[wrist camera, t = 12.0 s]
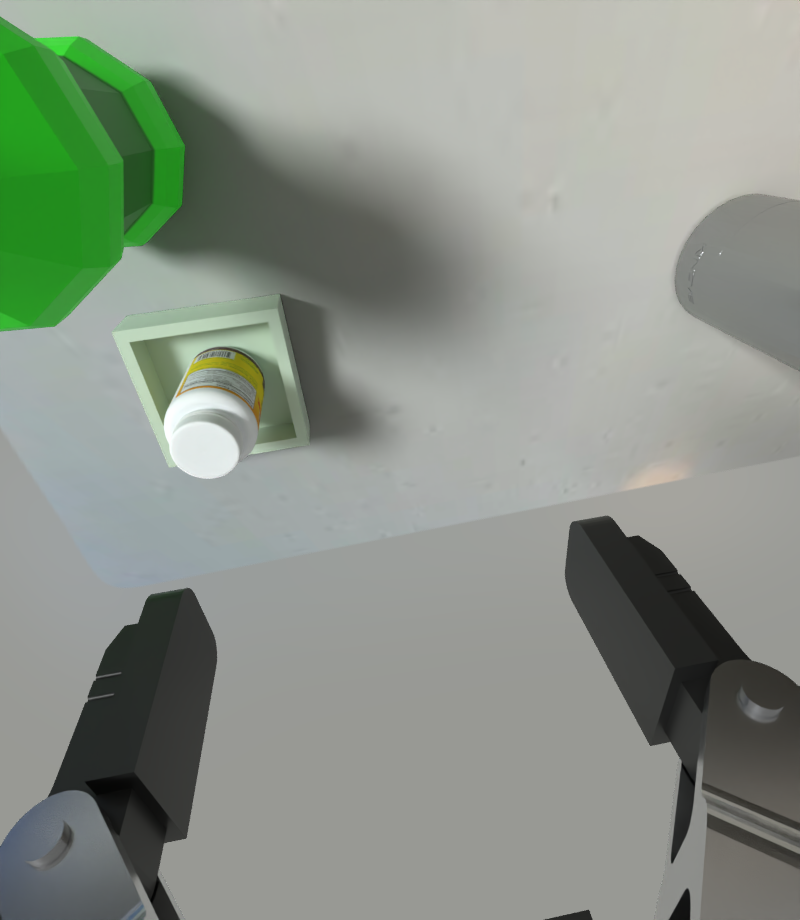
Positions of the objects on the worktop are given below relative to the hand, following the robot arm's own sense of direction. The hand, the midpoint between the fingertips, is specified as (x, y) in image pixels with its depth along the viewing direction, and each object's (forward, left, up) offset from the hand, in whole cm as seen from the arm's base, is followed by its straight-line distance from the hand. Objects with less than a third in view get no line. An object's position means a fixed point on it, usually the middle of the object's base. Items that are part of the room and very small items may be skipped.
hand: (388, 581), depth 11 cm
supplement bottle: (+9, +7, -30) cm, 32 cm away
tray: (+10, +7, -30) cm, 32 cm away
